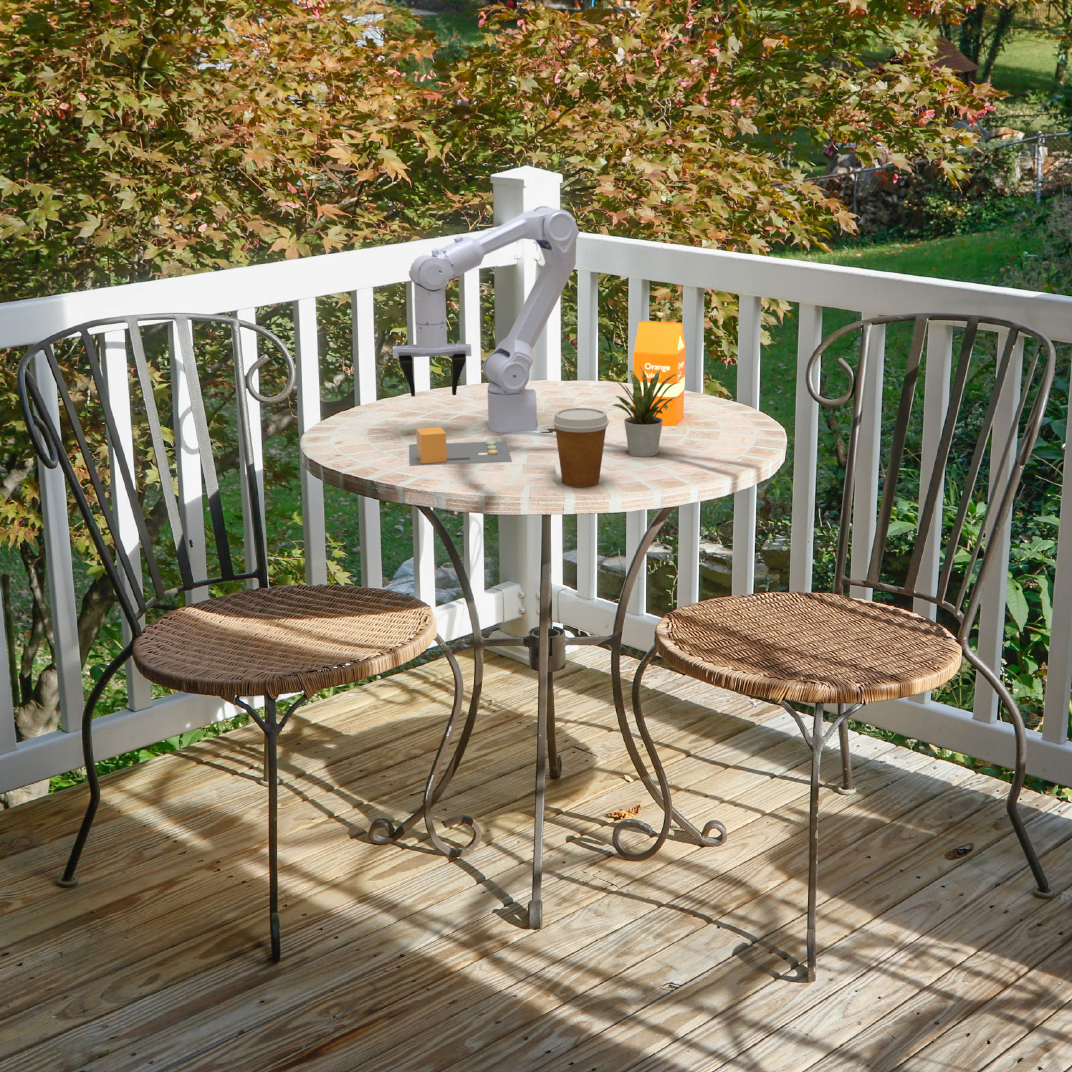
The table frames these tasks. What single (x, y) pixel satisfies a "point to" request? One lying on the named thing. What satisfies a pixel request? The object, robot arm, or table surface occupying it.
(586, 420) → the disposable coffee cup
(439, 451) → the cap
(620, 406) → the house plant
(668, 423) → the orange juice
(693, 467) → the table surface
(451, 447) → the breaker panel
